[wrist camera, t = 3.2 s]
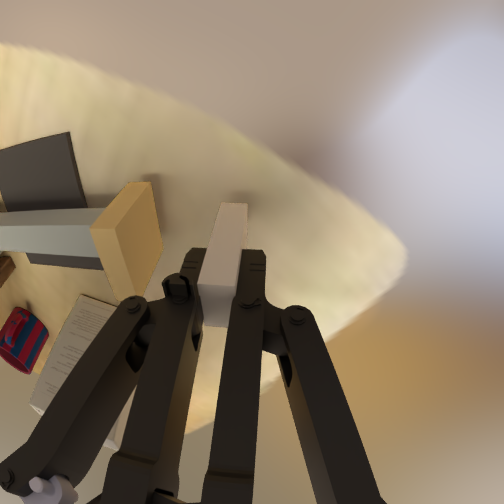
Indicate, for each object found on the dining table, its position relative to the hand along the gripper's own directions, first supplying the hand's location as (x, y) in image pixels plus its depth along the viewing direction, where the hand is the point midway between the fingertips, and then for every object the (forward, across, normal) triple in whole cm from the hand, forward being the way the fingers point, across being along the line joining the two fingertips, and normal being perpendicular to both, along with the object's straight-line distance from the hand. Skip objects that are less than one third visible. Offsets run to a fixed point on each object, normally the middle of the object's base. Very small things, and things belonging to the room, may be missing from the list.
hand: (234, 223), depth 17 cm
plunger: (+2, -16, 0) cm, 16 cm away
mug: (+2, -30, -17) cm, 34 cm away
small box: (+2, -14, -14) cm, 20 cm away
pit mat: (+2, -16, 0) cm, 17 cm away
